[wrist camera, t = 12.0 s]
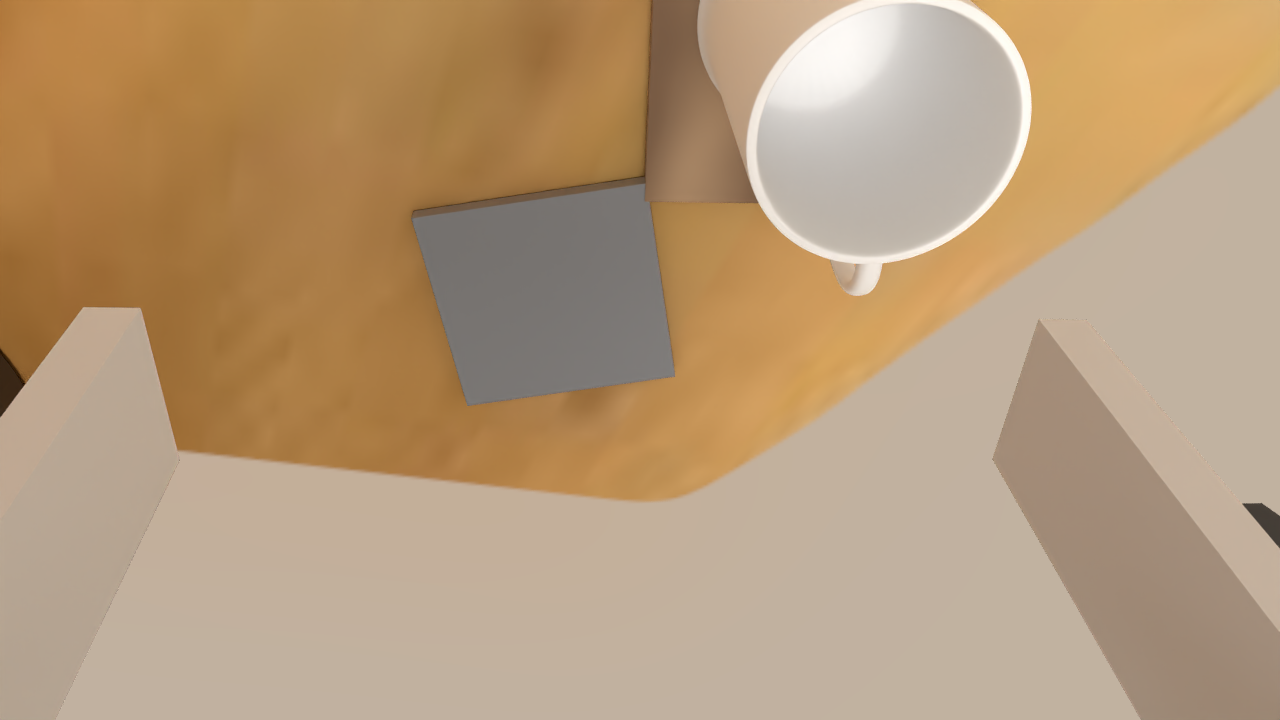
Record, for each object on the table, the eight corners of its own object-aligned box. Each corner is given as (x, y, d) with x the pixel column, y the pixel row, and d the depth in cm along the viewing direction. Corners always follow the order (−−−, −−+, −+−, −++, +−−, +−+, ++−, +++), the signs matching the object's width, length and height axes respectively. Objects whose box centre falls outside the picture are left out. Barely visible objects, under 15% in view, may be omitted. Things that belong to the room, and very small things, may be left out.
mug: (894, 197, 42) (989, 355, 32) (693, 203, 42) (727, 366, 32) (937, -106, 36) (1073, -23, 26) (698, -100, 35) (744, -14, 25)
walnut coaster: (643, 193, 42) (645, 201, 42) (656, -115, 36) (657, -111, 35) (920, 197, 43) (925, 205, 42) (983, -105, 36) (991, -101, 36)
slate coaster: (468, 397, 48) (467, 405, 47) (413, 210, 42) (411, 218, 42) (674, 367, 48) (675, 376, 47) (645, 176, 42) (646, 183, 41)
